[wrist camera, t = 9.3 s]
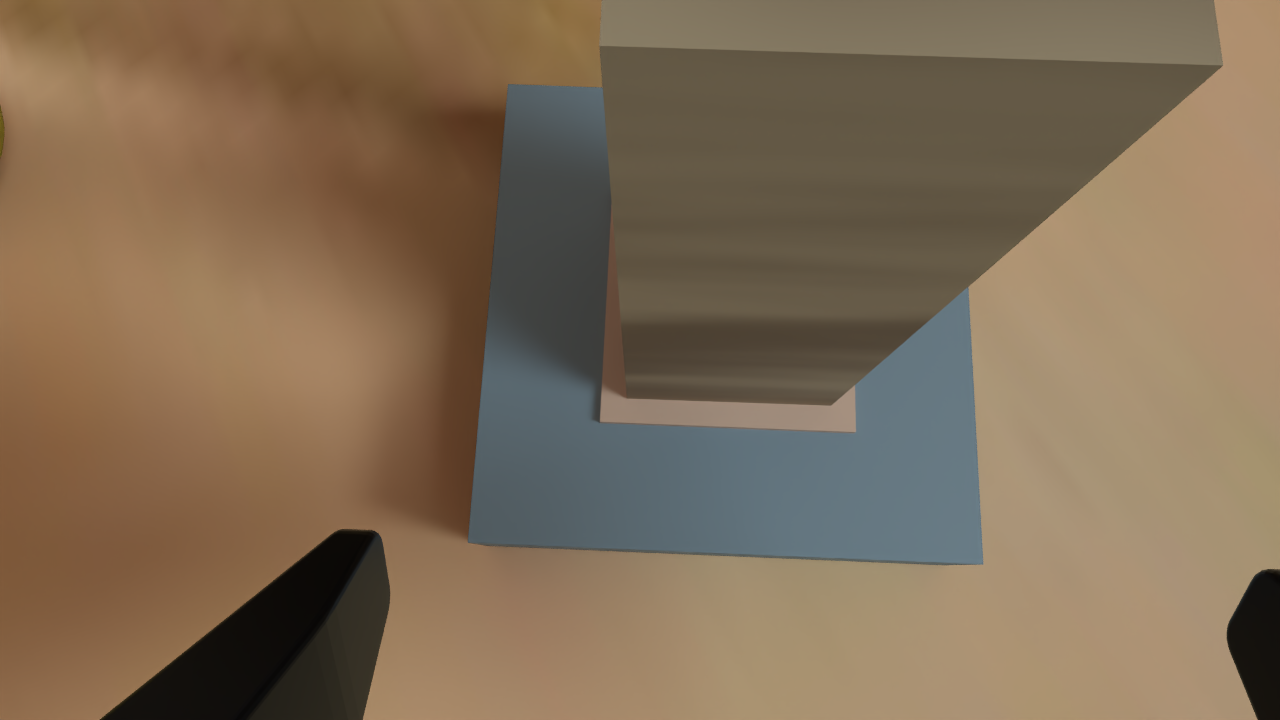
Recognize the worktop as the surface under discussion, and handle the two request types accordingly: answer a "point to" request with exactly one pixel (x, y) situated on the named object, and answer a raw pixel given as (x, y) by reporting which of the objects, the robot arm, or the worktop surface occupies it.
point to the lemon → (1, 132)
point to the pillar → (853, 167)
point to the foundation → (689, 402)
